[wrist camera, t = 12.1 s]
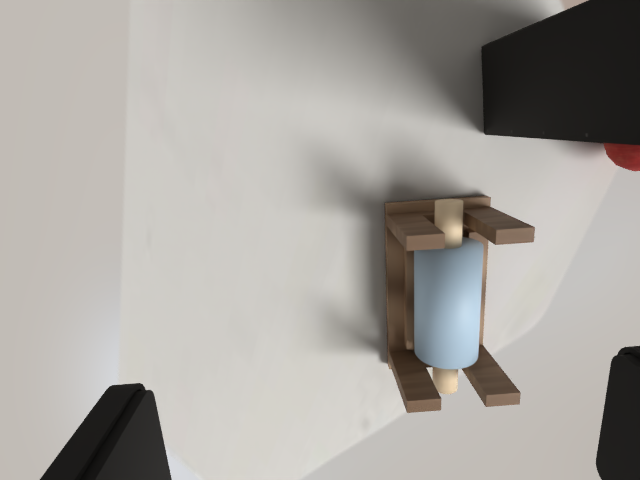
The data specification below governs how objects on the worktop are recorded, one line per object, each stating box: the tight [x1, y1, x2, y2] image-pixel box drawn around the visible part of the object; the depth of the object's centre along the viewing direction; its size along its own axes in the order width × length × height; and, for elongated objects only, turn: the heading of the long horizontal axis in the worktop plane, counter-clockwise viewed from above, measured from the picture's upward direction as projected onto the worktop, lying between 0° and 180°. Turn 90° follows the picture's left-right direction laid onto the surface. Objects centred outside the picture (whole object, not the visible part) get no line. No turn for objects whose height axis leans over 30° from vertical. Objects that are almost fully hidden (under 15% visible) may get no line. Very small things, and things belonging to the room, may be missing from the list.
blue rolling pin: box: [414, 199, 483, 394], centre depth 39 cm, size 19×6×6 cm, turn 4°
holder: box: [385, 196, 535, 413], centre depth 38 cm, size 18×10×9 cm, turn 4°
